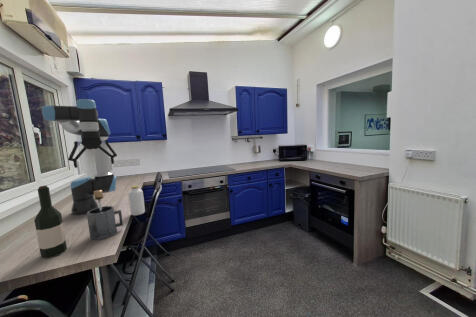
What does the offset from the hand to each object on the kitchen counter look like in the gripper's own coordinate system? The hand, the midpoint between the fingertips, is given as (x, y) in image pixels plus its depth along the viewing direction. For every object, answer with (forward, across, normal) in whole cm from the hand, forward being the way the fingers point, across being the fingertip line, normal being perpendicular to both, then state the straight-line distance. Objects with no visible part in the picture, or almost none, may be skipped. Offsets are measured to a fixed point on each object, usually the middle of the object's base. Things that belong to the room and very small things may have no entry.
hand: (96, 172), depth 101 cm
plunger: (+28, 0, -7) cm, 28 cm away
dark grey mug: (+32, +1, -7) cm, 33 cm away
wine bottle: (+32, -18, -13) cm, 39 cm away
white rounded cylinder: (+32, +18, +13) cm, 39 cm away
